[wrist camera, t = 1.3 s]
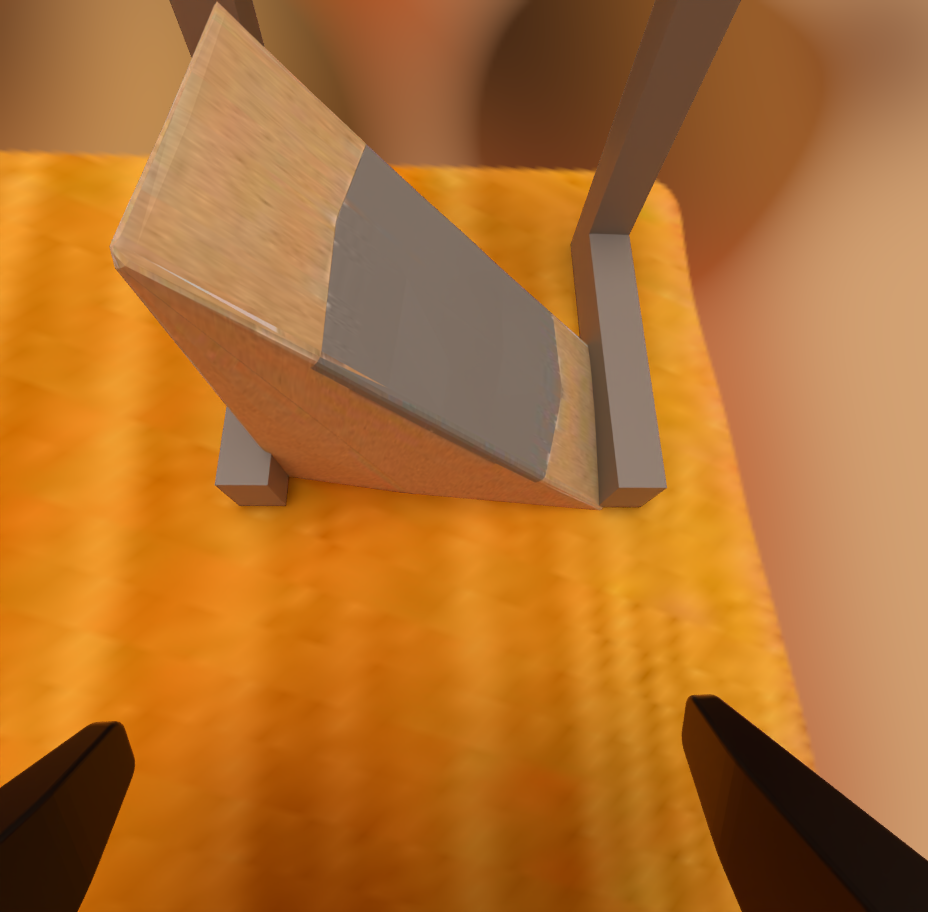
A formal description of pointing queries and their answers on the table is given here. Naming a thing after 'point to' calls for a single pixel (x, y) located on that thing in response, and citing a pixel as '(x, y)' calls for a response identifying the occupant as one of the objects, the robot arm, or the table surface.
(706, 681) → the table surface
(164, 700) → the table surface
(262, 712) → the table surface
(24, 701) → the table surface
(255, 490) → the grey frame stand
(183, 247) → the sandwich container
